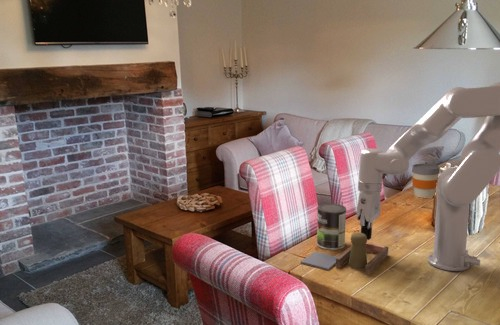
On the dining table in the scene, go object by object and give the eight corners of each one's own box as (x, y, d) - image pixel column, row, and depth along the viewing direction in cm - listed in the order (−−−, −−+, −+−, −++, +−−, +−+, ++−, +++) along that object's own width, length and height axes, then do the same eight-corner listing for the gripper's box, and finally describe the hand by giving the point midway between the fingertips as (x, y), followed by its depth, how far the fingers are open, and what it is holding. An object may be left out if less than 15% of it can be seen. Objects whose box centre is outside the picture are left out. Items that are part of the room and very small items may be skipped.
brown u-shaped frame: (388, 255, 156) (388, 247, 155) (368, 275, 141) (368, 266, 140) (357, 248, 162) (357, 240, 161) (335, 267, 147) (335, 258, 147)
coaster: (341, 259, 153) (341, 257, 153) (328, 270, 145) (328, 268, 145) (314, 252, 159) (314, 251, 159) (300, 263, 151) (300, 261, 151)
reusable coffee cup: (418, 191, 232) (420, 162, 228) (442, 196, 222) (444, 166, 219) (405, 196, 224) (407, 166, 220) (429, 201, 214) (431, 170, 211)
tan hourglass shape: (364, 261, 151) (365, 230, 149) (369, 269, 145) (371, 237, 143) (346, 261, 151) (347, 230, 149) (351, 270, 145) (352, 237, 143)
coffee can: (325, 252, 159) (326, 213, 156) (311, 241, 169) (312, 205, 166) (351, 247, 163) (352, 209, 160) (335, 237, 172) (336, 202, 169)
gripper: (372, 193, 142) (368, 248, 146) (388, 183, 154) (384, 234, 158) (350, 189, 146) (346, 242, 150) (367, 179, 158) (363, 229, 162)
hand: (365, 238), depth 154 cm, fingers closed
